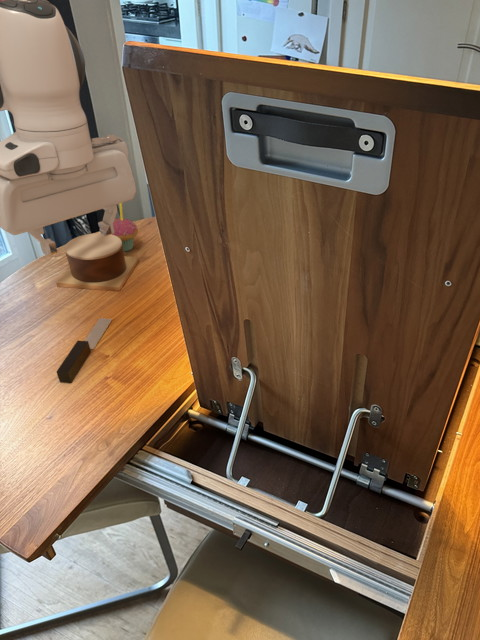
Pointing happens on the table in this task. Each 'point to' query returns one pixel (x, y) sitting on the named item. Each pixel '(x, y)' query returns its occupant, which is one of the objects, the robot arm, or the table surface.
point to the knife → (81, 352)
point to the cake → (97, 263)
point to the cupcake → (125, 231)
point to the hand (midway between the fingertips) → (79, 243)
